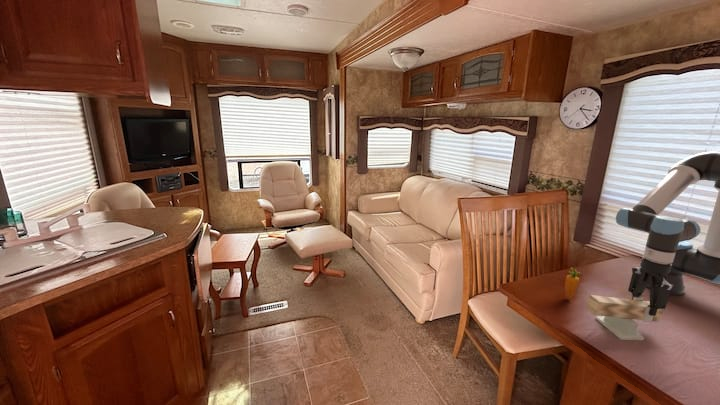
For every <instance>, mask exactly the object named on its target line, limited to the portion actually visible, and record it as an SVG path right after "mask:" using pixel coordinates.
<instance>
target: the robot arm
mask: <svg viewBox="0 0 720 405" xmlns="http://www.w3.org/2000/svg"><path fill="white" fill-rule="evenodd" d="M667 171H668V172H667V175H666V176H665V177H664V178H663V179H662V180H661V181H660V182H659V183H658V184H657V185H656V186H655V187H654V188H653V189H651V191H649V192H648V193H647V194H645V196H644V197H643V198H642V199H640V201H639V202H637V203H636V205H634V206H633V207H632V208H630V207H628V208H627V207H623V208H620V209H619V210H618V211H617V213H616V215H615V222H616V224H617V225H619V226H620V227H624V228H627V229H630V230H634V231H639V232H643V233H646V234H648V236H647V239H646V243H645V247H644V251H643V253H642V254H643V255H642V257H641V261H640V265H639V266H640V267H632V268H631V272H632V273H631V278H630V281H629V282H630V283H629V285H628V290H627V291H628V292H629V293H631V296H632V297H631V299H633V300H642V301H644V300H643V299H644V298H643V293H644V292H645V290H646V288H649V301H650V305H647V306H646V310H645V313H644V317H643V320H641V321H642V322H643V323H652V322H653V321H652V320H653V316H655V315H656V312H657V310H658V309H664V310H665V309H666V307H667V305H668V301H669V298H670V295H673V296H674V295H675V296H676V295H677V296H680V295H683V294H684V293H685V289H686V287H685V282H684V281H685V280H684V275H685V274H686V275H689V276H692V277H695V278H698V279H702V280H705V281H708V282H710V283H713V284H717V285H720V151H705V152H701V153H697V154H694V155H690V156H689V157H688V156H687V157H686V158H684V159H683V160H680V161H678V162H677V163H675V164H674V165H673V166H671V168H670V169H668V170H667ZM699 181H708V182H714V186H713V187H714V189H715V190H716V191H717V192H718V193H717V196H716V199H715V200H716V201H715V203H714V208H713V211H712V214H711V218H710V221H709V225H708V229H707V231H706V236H705V238H704V239H705V240H704V243H703V244H702V245H699V246H697V247H696V248H694V244H692V243H691V242H688V241H690V240H693V239H695V238H697V237H698V236H699V235H700V233H701V226H700V224H698V222H697V221H695V220H693V219H691V218H678V217H674V216H666V215H660V214H661V213H662V212H663V211H664V210H665V209H666V208H667V207H669V206H670V204H672V203H673V201H674V200H676V199H677V198H678V197H679V196H680V195H681V194H682V193H683V192H684V191H685V190H686V189H687V188H688V187H689V186H690V185H694V184H696V183H699Z"/></svg>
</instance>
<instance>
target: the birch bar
mask: <svg viewBox="0 0 720 405" xmlns="http://www.w3.org/2000/svg"><path fill="white" fill-rule="evenodd" d="M647 305H650V300H633V299H632V298H622V297H614V296H613V297H612V296H603V295H597V294H595V295H594V294H589V297H588V298H587V301H586V304H585V306H584V308H585V309H586V310H587V311H589V312H590V313H591V314H592V315H594V316H609V317H618V318H627V319H632V320H637V321H642V320H643V317H644V313H645V310H646V306H647ZM664 311H665V309H658V310H657V312H656V315H655V316H653V320H652V322H656V323H659V322H660V320H661V317H662V315H663V313H664Z"/></svg>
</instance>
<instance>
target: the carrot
mask: <svg viewBox="0 0 720 405" xmlns="http://www.w3.org/2000/svg"><path fill="white" fill-rule="evenodd" d="M569 269H570V270H569V271H568V273H569V274H567V275H566V276H565V282H564V293H565V298H566V300H571V299H572V298H573V297H574V296H575V295H576V292H577V291H578V288H579V284H580V278H579V277H578V275H579V274H580V273H581V272H580V271H578V270H577V269H574V268H573V267H570V268H569Z"/></svg>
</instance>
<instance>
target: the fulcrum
mask: <svg viewBox="0 0 720 405" xmlns="http://www.w3.org/2000/svg"><path fill="white" fill-rule="evenodd" d="M595 319H596V321H597V322H598V323H600V324H602V325H603V326H604V327H605V328H606V329H607V330H608V331H610V332H611V333H613V335H615V336H616V338H618V339H620V341H644V340H645V337H644V336H642V335H641V334H640V333H639V332H637V328H638V325H639V324H638V323H637V321H635V320H634V319H627V318H618V317H609V316H599V315H595Z"/></svg>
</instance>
